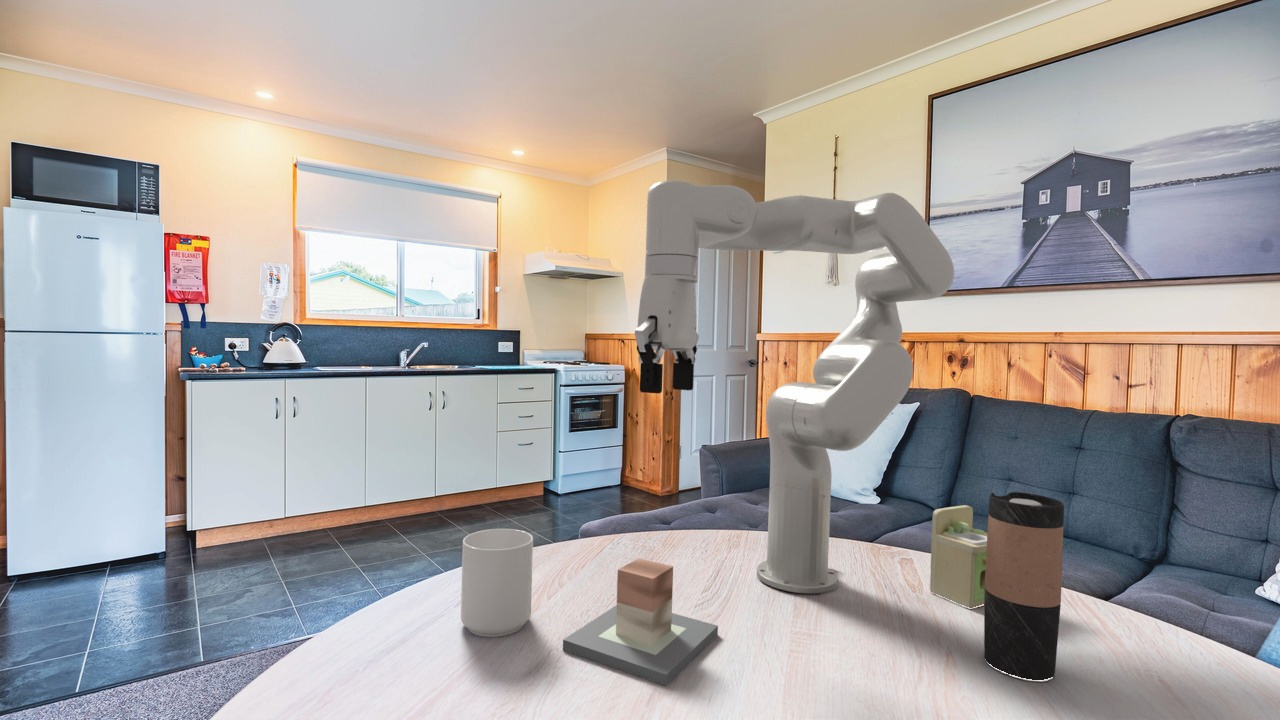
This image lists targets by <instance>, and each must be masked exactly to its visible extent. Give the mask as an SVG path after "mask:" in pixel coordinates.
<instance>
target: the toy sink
mask: <svg viewBox="0 0 1280 720" xmlns="http://www.w3.org/2000/svg"><path fill="white" fill-rule="evenodd" d="M973 516H974V509H973V507H972V506H969V505H967V504H966V505H965V504H963V505H957V506H949V507H943V508H937V509H934V511H933V512H932V519H931V544H930V546H931V548H930V551H931V552H930V575H929V577H930V580H929V582H930V583H929V592H930V591H931V592H933V593H935V594H938V595H940V596H942V597H945V598H947V599H949V600H952V601H954V602H956V603H958V604H961V605H964V606H966V607H969V608H973V607H976V606H979V605H982V604H984V596H985V569H986V551H987V531H986V532H985V530H982V529H980V528H974V527H973V521H974V519H973V518H974V517H973ZM931 592H930V593H931Z"/></svg>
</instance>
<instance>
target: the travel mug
mask: <svg viewBox="0 0 1280 720" xmlns="http://www.w3.org/2000/svg"><path fill="white" fill-rule="evenodd" d="M987 516H988V519H987V531H986V533H987V551H986V569H985V596H984V607H983V608H984V609H983V610H984V611H983V612H984V613H983V615H984V620H983V622H984V623H983V625H984V626H983V627H984V629H983V630H984V632H983V634H984V635H983V642H984V643H983V644H984V645H983V653H984V660H985V659H986V661H987V662H988V663H989V664H991V665H992V666H993V667H995V668H997V669H999V670H1001V671H1004V672H1006V673H1008V674H1011V675H1015V676H1018V677H1021V678H1026V679H1032V680H1044V679H1048V678H1051V677H1053V676H1054V677H1055V675H1054V674H1056V664H1057V653H1058V641H1059V630H1060V618H1061V616H1060V615H1061V607H1062V606H1061V603H1062V578H1063V553H1064V552H1063V550H1064V549H1063V547H1064V544H1063V543H1064V524H1065V523H1064V522H1065V521H1064V519H1065V518H1064V517H1065V505H1064V502H1063V501H1060V500H1058V499H1055V498H1052V497H1048V496H1044V495H1040V494H1034V493H1029V492H1028V493H1027V492H1019V491H1018V492H1017V491H1012V492H1009V493H1007V494H1006V495H1000V496H999V495H996V494H995V492H990V494H989V498H988V514H987ZM986 661H985V662H986ZM987 662H986V663H987ZM988 663H987V664H988Z"/></svg>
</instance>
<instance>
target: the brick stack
mask: <svg viewBox="0 0 1280 720" xmlns="http://www.w3.org/2000/svg"><path fill="white" fill-rule="evenodd" d="M673 583H674V566H672V565H669V564H663V563H659V562H658V561H657V562H656V561H652V560H647V559H643V558H640V557H639V558H637V559H634V560H633V561H631V562H629V563H627V564H625V565H623V566H622V567H620V568H618V569H617V583H616V584H617V585H616V587H617V588H616V605H617V609H616V635H618V636H621V637H625V638H628V639H631V640H634V641H637V642H640V643H643V644H646V645H649V646H652V645H653V644H654V643H656V642H657V641H658V640H659V639H661V638H662V637H663V636H664V635H666V634H667V633H668V632H669V631H671V620H672V613H673V611H672V610H673V588H674V587H673Z"/></svg>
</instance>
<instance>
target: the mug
mask: <svg viewBox="0 0 1280 720" xmlns="http://www.w3.org/2000/svg"><path fill="white" fill-rule="evenodd" d="M533 550H534V536H533V535H532V534H530V532H527V531H524V530H519V529H515V528H514V529H513V528H490V529H484V530H483V529H482V530H480V531H479V530H478V531H475V532H472V533H469V534H467V535H466V536H465V537H463V539H462V557H461V591H460V593H461V594H460V596H461V598H460V599H461V600H460V620H461V623H462V624H463V626H464V627H465V628H466V629H467V630H468V631H469V632H470V633H472V634H473V635H476V636H480V637H486V638H487V637H488V638H491V637H492V638H495V637H503V636H508V635H511V634H513V633H516V632H518V631H519V630H521V629H522V628H523V626H524V625H525V624H526V623H527V622H528V620H530V617H531V614H532V593H533V592H532V591H533V590H532V589H533V585H532V584H533V555H534V554H533V553H534V551H533Z"/></svg>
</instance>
